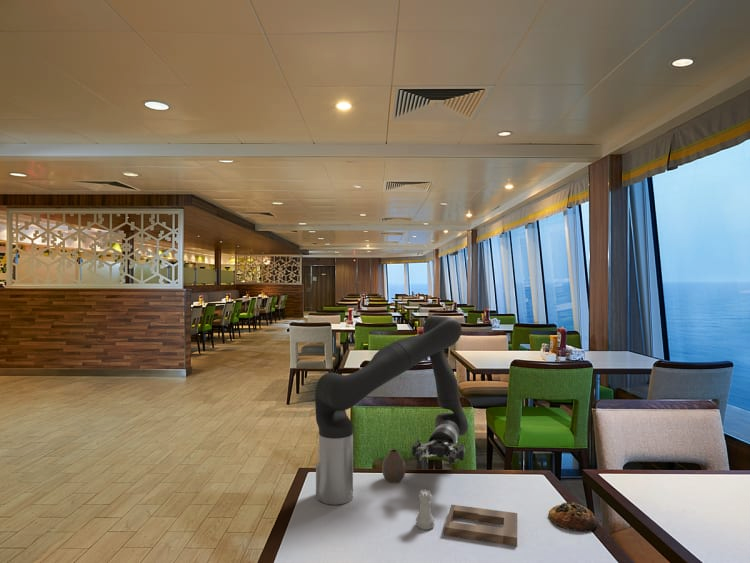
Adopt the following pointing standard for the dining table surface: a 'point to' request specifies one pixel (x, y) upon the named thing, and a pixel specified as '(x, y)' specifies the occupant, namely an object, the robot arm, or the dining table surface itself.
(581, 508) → the bread roll
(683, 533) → the dining table surface
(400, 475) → the vase
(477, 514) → the rectangular wooden frame
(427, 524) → the rook chess piece
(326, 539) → the dining table surface
